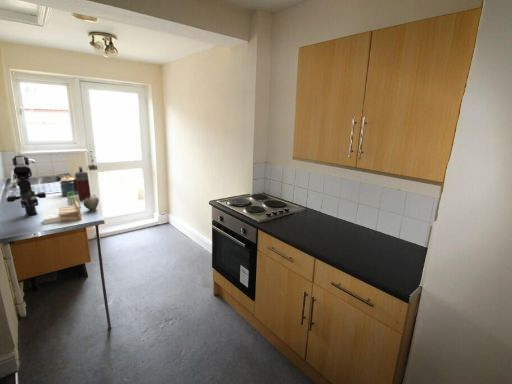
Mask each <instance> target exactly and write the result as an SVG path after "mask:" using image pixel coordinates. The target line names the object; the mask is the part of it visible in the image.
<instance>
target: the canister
mask: <svg viewBox="0 0 512 384" xmlns="http://www.w3.org/2000/svg"><path fill="white" fill-rule="evenodd" d="M74 179H76V178H75V177H74V176H73V177H72V176H71V177H70V176H69V175H65V177H63V178H61V179H60V182H59V184H60V191H61V195H62V197H67V192H71V191H74V195H78V191H75V190H74V184H73V182H74ZM70 194H73V193H69V195H70Z"/></svg>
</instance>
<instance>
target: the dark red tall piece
mask: <svg viewBox="0 0 512 384" xmlns="http://www.w3.org/2000/svg"><path fill="white" fill-rule="evenodd" d="M78 169H79V170H78V171H75V172H74V178H75V179H74V182H73V184H74V190H75V191H78V194H77V195H79V200H80V201H84V200H85V199H86V198H87V197H89V196H92V195H91V189H90V188H91V187H90V181H89V173H88V171H87V170H84V171H83V166H78Z"/></svg>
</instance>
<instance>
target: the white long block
mask: <svg viewBox="0 0 512 384" xmlns="http://www.w3.org/2000/svg"><path fill="white" fill-rule="evenodd" d="M42 220H43V224H44V225H47V224H48V225H49V224H53V223H54V222H55V223H60V221H61V217H60V213H57V214H51V215H45V216H42Z"/></svg>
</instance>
